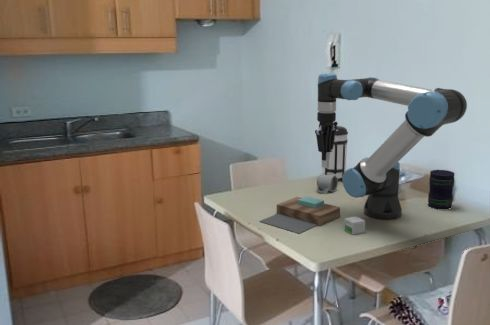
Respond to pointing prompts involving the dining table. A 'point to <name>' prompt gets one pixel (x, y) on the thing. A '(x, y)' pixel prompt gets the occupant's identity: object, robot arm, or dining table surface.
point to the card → (311, 202)
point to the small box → (354, 225)
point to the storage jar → (441, 189)
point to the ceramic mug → (327, 183)
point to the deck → (308, 211)
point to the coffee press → (338, 154)
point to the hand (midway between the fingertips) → (325, 167)
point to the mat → (288, 223)
